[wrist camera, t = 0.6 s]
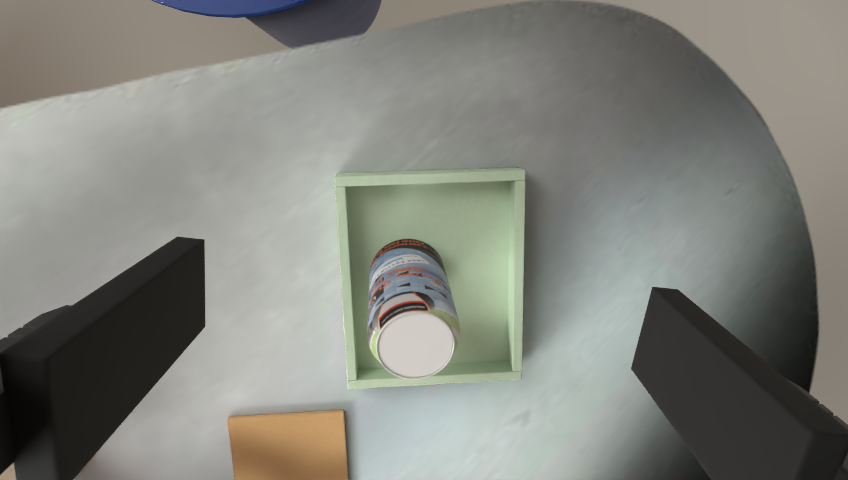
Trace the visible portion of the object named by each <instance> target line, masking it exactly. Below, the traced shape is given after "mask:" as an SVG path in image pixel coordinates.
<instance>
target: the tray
mask: <svg viewBox="0 0 848 480" xmlns="http://www.w3.org/2000/svg"><path fill="white" fill-rule="evenodd" d="M334 182H335V197H336V213H337V228H338V244H339V259H340V275H341V291H342V306H343V322H344V337H345V353H346V368H347V384H348V389H360V388H378V387H395V386H413V385H430V384H448V383H465V382H483V381H500V380H517V379H522V340H523V282H524V225H525V170H523V169H520V168H518V167H516V168H485V169H454V170H423V171H393V172H362V173H337V174H336V175H335V177H334ZM401 239H416V240H420V241H423V242H425V243H427V244H429V245H430V246H431V247H433V248H434V249H435V250H436V251H437V252H438V254H439V255H440V257H441V259H442V261H443V264H444V268H445V272H446V275H447V279H448V283H449V286H450V290H451V294H452V297H453V301H454V305H455V308H456V312H457V316H458V319H459V324H460V339H459V343H458V346H457V348H456V350H455V352H454V354H453V355H452V357H451V360H450V361H449V362H448V364H447V365H446V366H445V367H444V368H443V369H442V370H441V371H439V372H438V373H436V374H434V375H432V376H430V377H427V378H423V379H413V380H412V379H404V378H400V377H398V376H395V375H393V374H392V373H390V372H389V371H387V370H386V369H385V368H384V367H383V365H382V364H381V363H380V362H379V361H378V360H377V359H376V358H375V356H374V355H373V353H372V351H371V349H370V347H369V343H368V337H367V328H368V304H369V280H370V267H371V264H372V261H373V259H374V257H375V255H376V254H377V253H378V252H379V251H380V249H382V248H383V247H384V246H385V245H387V244H389V243H391V242H393V241H396V240H401Z"/></svg>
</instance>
